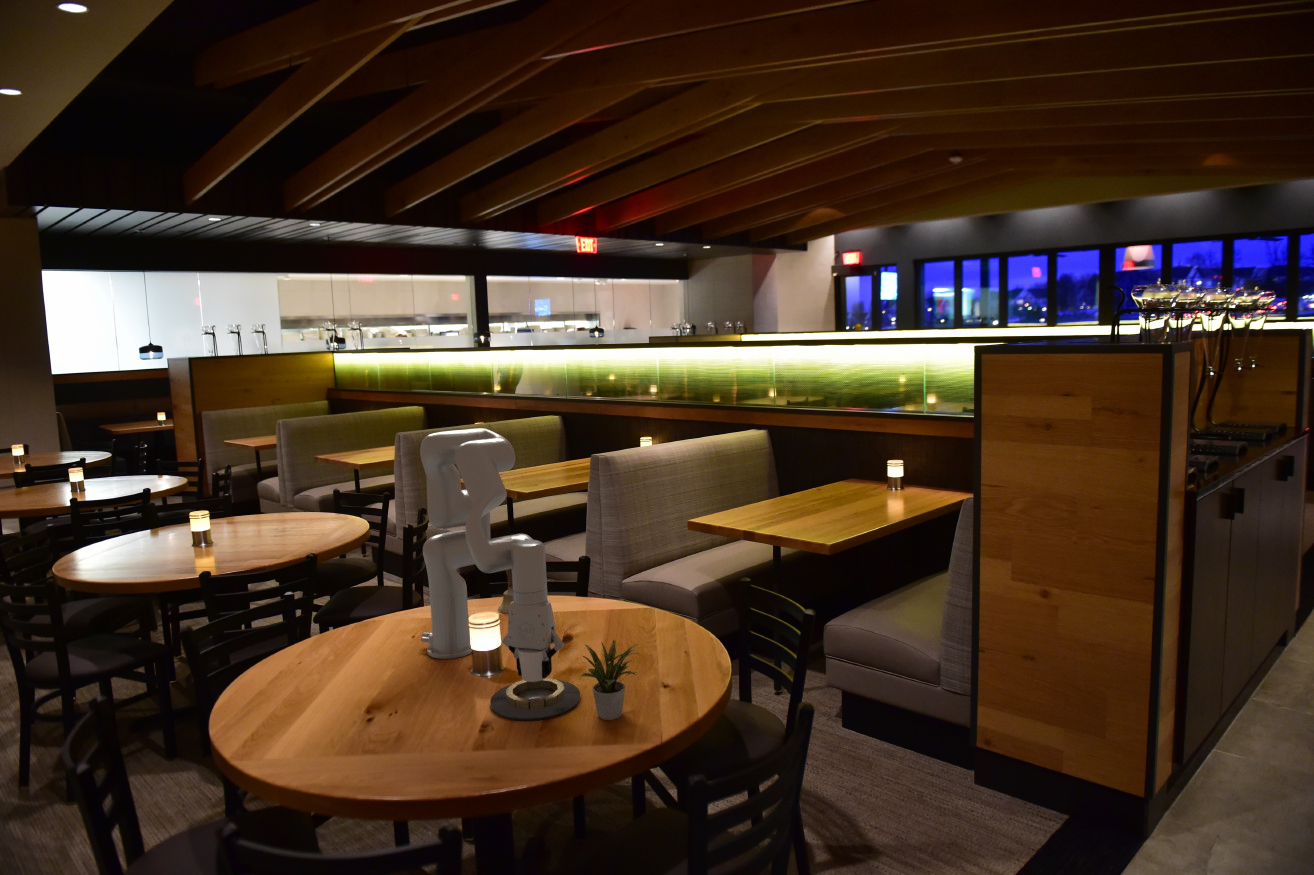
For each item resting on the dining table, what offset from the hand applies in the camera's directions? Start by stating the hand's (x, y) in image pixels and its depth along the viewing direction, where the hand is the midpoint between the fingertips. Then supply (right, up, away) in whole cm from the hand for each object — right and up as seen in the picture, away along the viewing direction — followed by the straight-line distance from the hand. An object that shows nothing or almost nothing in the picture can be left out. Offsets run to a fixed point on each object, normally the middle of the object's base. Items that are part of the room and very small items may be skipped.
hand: (534, 673), depth 190 cm
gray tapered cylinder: (0, -1, 0) cm, 1 cm away
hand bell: (-17, +1, +67) cm, 69 cm away
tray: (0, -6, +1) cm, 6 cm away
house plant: (+18, -7, -8) cm, 21 cm away
